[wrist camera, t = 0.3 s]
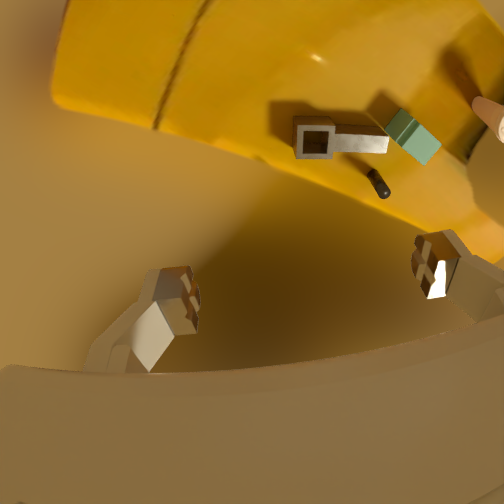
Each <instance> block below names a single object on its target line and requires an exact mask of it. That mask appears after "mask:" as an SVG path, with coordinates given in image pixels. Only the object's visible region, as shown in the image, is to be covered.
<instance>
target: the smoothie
mask: <svg viewBox="0 0 504 504" xmlns="http://www.w3.org/2000/svg"><path fill="white" fill-rule="evenodd" d="M472 110H473V111H474V113H476V114H477V115H478V116H479V117H480V118H481V119H482V120H483V121H484V122H485V123H486V124H487V125H488V126H489V127H490V128H491V129H492V130H493V132H495V134H496V136H497V138H498V139H499V140H500V141H502V142H503V143H504V106H502V105H500V104H497V103H495V102H493V101H491V100H488V99H486V98H484V97H481V96H477V97H475V98H474V99H473V101H472Z"/></svg>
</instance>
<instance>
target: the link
mask: <svg viewBox="0 0 504 504" xmlns="http://www.w3.org/2000/svg"><path fill="white" fill-rule="evenodd" d="M304 131H322V140H321V143H303V132H304ZM388 141H389V136H388V135H387V134H386V133H385V132H384V131H383V130H382V129H381V128H380V127H376V126H361V125H342V124H334V123H333V122H332V120H331V119H330V118H329V117H327V116H293V151H294V154H295V157H296V159H332V156H333V152H366V153H386V151H387V146H388Z"/></svg>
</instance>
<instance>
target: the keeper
mask: <svg viewBox="0 0 504 504" xmlns="http://www.w3.org/2000/svg"><path fill="white" fill-rule="evenodd" d="M384 130H385V131H386V132H387V133H388V134H389V135H390V137H391V138H392V139H393V140H394V141H395V142H396V143H398V144H399V145H400V146H401V147H402V148H403V149H404V150H406V151H407V152H408V153H409V154H411V155H412V156H413V157H414V158H415V159H417V160H418V161H419V162H420V163H421V164H422V165H425V164H426V163H427V162H428V161H429V159H430V158H431V157H432V156H433V155H434V154H435V152H436V151H437V150H438V149H439V148H440V146H441V145H442V144H441V143H440V142H439V141H438V140H437V139H436V138H435V137H434V136H433V135H432V134H430V133H429V132H428V131H427V130H426V129H425V128H424V127H423V126H422V125H421V124H420V123H418V122H417V121H416V120H415V119H414V118H413V117H412V116H410V115H409V114H408V113H407V112H405V111H404V110H403V109H402V108H401V109H400V110H399V111H398V113H397V114H396V115H395V117H394V118H393V119H392V120H391V122H390V123H389V124H388V125H387V127H386V128H385V129H384Z"/></svg>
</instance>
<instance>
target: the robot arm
mask: <svg viewBox="0 0 504 504" xmlns="http://www.w3.org/2000/svg"><path fill="white" fill-rule="evenodd" d="M414 244H415V246H416V250H415V251H414V252H413V253H412V257H411V268H412V272H413V274H414V276H415V278H417V279H418V280H420V281H421V285H420V287H421V289H422V291H423V292H424V294H425V296H426V298H427V299H431V298H436V297H441V296H446V297H447V298H448V299H449V300H450V301H452V302H453V303H454V304H455V305H457V306H458V307H459V308H460V309H461V310H463V311H464V312H465V313H466V314H467V315H469V316H470V317H471V318H472V319H473V320H474V321H476V322H477V323H475V324H472V325H469V326H465V327H463V328H459V329H456V330H452V331H449V332H445V333H441V334H438V335H434V336H431V337H427V338H423V339H419V340H415V341H411V342H407V343H403V344H399V345H394V346H390V347H385V348H380V349H376V350H371V351H366V352H361V353H356V354H350V355H345V356H339V357H333V358H327V359H321V360H314V361H308V362H301V363H293V364H285V365H277V366H268V367H259V368H249V369H237V370H224V371H208V372H188V373H149V371H150V370H151V369H152V367H153V366H154V364H155V363H156V361H157V360H158V359H159V357H160V356H161V355H162V353H163V352H164V350H165V349H166V348H167V346H168V345H169V343H170V342H171V341H172V339H173V338H174V335H184V334H193V333H197V328H198V320H199V318H198V316H197V313H196V312H197V311H198V310H199V309H200V294H199V288H198V285H197V283H196V282H194V281H193V280H192V279H193V272H192V269H191V267H190V266H188V265H187V266H179V267H168V268H162V269H151V270H149V271H148V272H147V274H146V277H145V280H144V283H143V286H142V290H141V293H140V296H139V300H138V303H133V304H132V305H131V306H130V307H129V308H128V309H127V310H126V311H125V312H124V313H123V314H122V315H121V316H120V317H119V318H118V319H117V320H116V321H115V322H113V324H111V325H110V326H109V327H108V328H107V329H106V330H105V331H104V332H103V333H102V334H101V335H100V336H99V337H98V338H97V339H96V340H95V341H94V342H93V343H92V344H91V347H90V350H89V353H88V356H87V359H86V362H85V365H84V369H83V371H68V370H55V369H45V368H36V367H27V366H21V365H12V364H11V365H7V366H6V367H4V368H3V369H1V370H0V504H504V271H503V270H502V269H500V268H498V267H496V266H495V265H493V264H491V263H489V262H488V261H486V260H484V259H482V258H480V257H478V256H477V255H472V254H471V253H470V251H469V250H468V249H467V247H466V246H465V245H464V243H463V242H462V241H461V240H460V238H459V237H458V236H457V235H456V233H455V232H454V231H453V230H451V229H449V230H443V231H439V232H433V233H426V234H419V235H417V236H416V238H415V242H414Z"/></svg>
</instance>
